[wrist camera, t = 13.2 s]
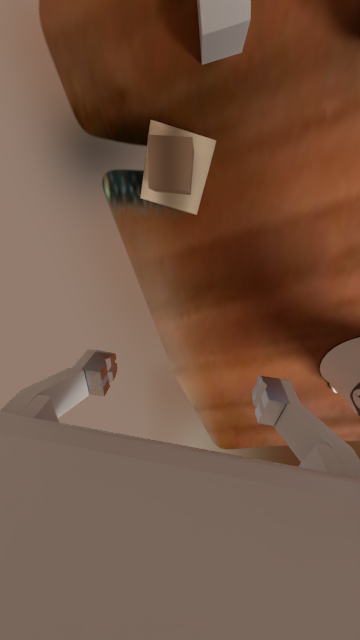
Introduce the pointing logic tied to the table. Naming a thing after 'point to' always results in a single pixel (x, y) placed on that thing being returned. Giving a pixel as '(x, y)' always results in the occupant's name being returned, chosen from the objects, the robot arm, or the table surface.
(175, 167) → the walnut block
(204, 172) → the beech pedestal block
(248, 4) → the grey painted cube
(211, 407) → the table surface
